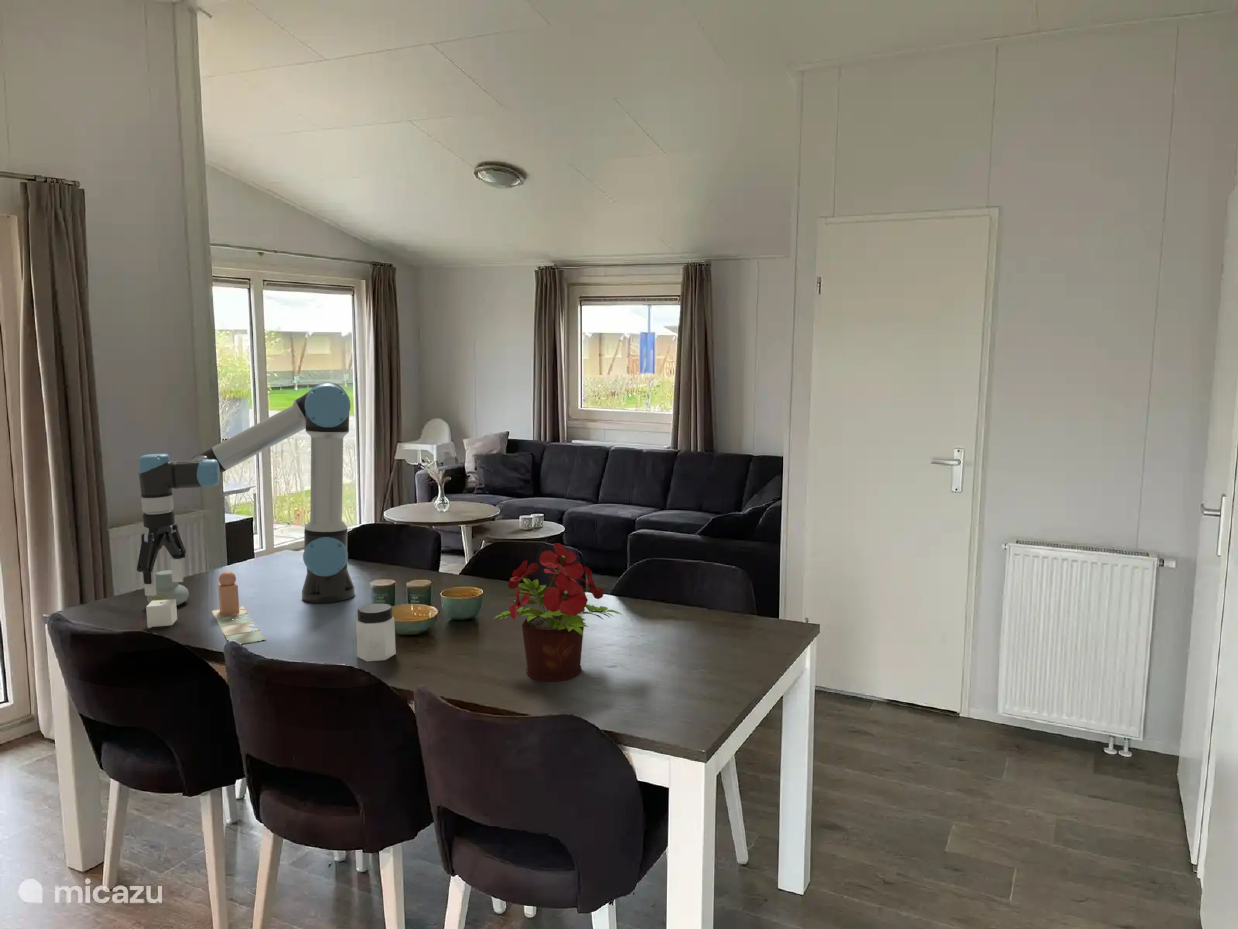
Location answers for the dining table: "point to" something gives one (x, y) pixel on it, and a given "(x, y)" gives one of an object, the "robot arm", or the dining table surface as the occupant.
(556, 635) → the potted plant
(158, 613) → the die
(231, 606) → the orange-brown peg figure
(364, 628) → the jar
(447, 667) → the dining table surface
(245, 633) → the track
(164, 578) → the air freshener
